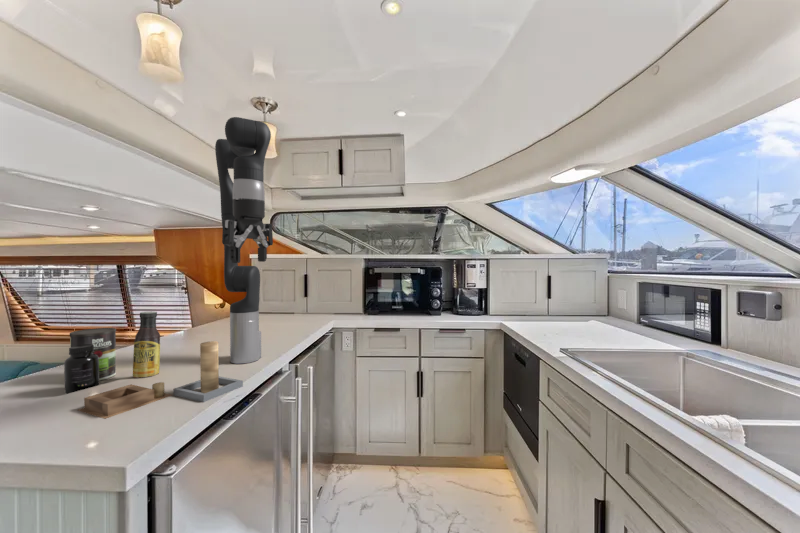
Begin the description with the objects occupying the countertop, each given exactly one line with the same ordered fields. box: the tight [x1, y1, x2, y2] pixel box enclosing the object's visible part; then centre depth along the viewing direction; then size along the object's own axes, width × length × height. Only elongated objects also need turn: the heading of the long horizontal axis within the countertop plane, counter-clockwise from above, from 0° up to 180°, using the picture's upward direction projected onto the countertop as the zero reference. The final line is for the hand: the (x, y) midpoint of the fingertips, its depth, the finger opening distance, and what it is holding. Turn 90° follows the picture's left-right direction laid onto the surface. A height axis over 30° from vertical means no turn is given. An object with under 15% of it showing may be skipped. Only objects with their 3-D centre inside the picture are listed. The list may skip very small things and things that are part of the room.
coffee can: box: [69, 327, 117, 382], centre depth 101 cm, size 10×10×14 cm
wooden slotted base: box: [77, 381, 173, 420], centre depth 79 cm, size 14×11×4 cm
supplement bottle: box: [63, 344, 100, 395], centre depth 90 cm, size 7×7×12 cm
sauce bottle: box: [132, 310, 161, 379], centre depth 99 cm, size 7×6×20 cm
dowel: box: [199, 340, 220, 393], centre depth 86 cm, size 4×4×13 cm
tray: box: [172, 376, 244, 403], centre depth 86 cm, size 11×11×3 cm
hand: (249, 262), depth 87 cm, fingers open, 8 cm apart
